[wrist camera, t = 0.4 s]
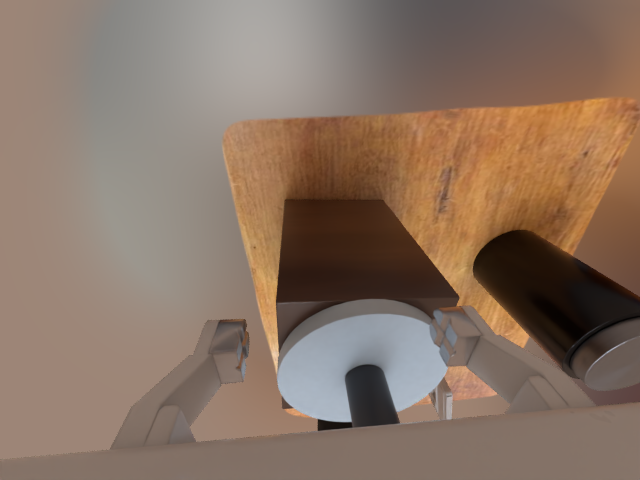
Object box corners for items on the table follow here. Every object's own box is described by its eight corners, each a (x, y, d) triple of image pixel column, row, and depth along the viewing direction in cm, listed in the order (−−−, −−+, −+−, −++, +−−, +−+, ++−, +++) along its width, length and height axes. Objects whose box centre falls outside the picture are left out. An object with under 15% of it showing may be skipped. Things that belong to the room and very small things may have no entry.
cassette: (420, 348, 44) (442, 395, 37) (431, 345, 43) (456, 392, 37) (423, 388, 50) (443, 434, 43) (433, 386, 49) (454, 432, 43)
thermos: (486, 229, 33) (618, 327, 20) (554, 229, 34) (725, 322, 20) (464, 287, 37) (558, 397, 24) (524, 285, 38) (647, 391, 25)
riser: (284, 199, 29) (275, 302, 15) (383, 199, 30) (460, 297, 16) (287, 279, 34) (282, 409, 20) (370, 277, 35) (419, 400, 21)
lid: (273, 301, 15) (262, 421, 10) (462, 295, 16) (547, 401, 11) (281, 410, 20) (276, 524, 15) (420, 400, 21) (462, 504, 16)
